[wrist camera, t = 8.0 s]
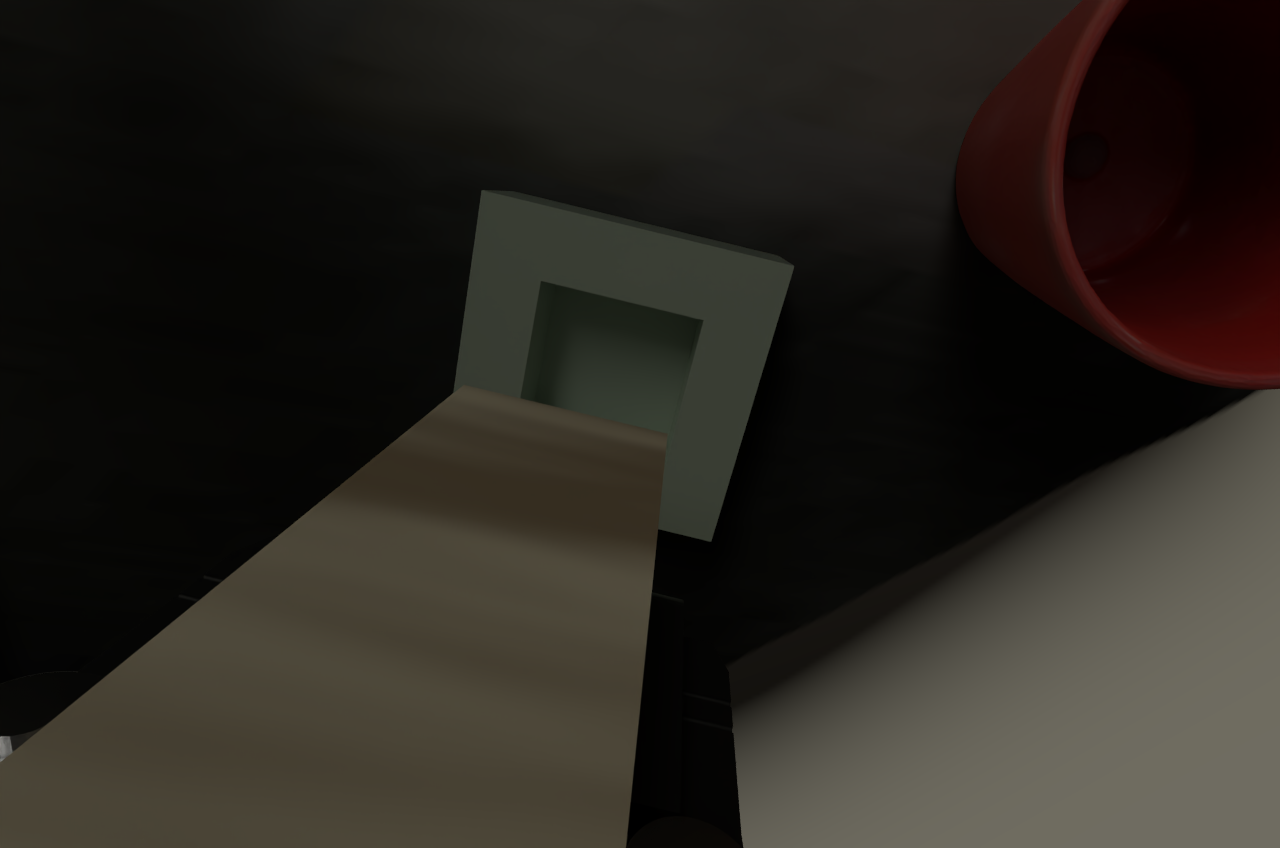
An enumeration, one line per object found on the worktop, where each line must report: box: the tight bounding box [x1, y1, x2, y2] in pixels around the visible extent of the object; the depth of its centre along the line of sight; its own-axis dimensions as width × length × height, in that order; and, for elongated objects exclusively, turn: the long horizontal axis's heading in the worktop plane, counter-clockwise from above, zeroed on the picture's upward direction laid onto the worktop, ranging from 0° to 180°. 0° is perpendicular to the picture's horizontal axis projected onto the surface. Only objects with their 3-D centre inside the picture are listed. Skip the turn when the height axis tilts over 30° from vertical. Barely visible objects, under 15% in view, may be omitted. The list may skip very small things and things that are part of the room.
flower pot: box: [956, 0, 1280, 390], centre depth 18 cm, size 11×11×10 cm
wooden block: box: [0, 385, 668, 848], centre depth 9 cm, size 4×4×10 cm
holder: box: [454, 190, 794, 542], centre depth 24 cm, size 10×10×4 cm
